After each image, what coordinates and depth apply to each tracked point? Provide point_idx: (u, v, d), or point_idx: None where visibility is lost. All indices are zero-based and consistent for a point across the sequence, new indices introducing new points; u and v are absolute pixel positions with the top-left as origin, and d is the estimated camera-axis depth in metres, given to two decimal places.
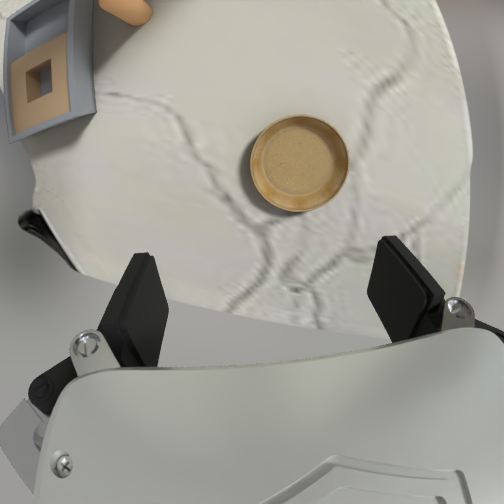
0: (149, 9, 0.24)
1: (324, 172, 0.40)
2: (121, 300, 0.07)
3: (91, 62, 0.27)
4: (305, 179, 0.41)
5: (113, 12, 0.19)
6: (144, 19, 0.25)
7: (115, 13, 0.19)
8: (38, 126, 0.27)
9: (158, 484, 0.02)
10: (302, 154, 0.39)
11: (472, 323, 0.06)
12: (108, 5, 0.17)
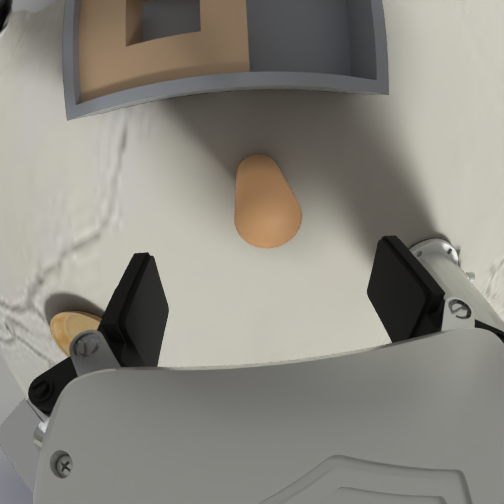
0: None
1: None
2: (121, 300, 0.07)
3: (183, 95, 0.20)
4: None
5: (235, 203, 0.17)
6: None
7: (235, 200, 0.18)
8: (69, 32, 0.11)
9: (158, 484, 0.02)
10: None
11: (472, 323, 0.06)
12: (247, 209, 0.16)
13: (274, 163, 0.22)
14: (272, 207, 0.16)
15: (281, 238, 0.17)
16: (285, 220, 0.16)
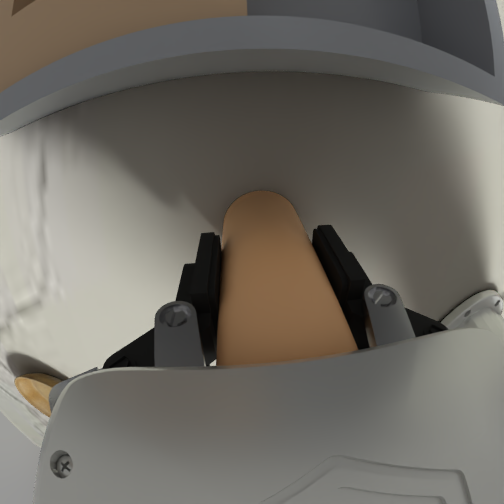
0: None
1: None
2: (205, 272, 0.09)
3: (123, 88, 0.10)
4: None
5: (217, 354, 0.07)
6: None
7: (218, 340, 0.07)
8: None
9: (158, 484, 0.02)
10: None
11: (401, 307, 0.07)
12: None
13: (293, 214, 0.12)
14: None
15: None
16: None
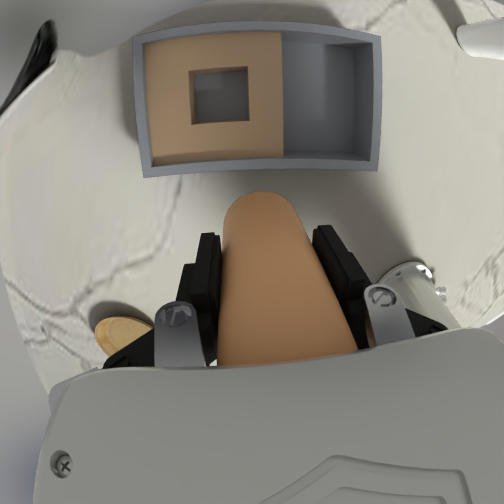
0: None
1: None
2: (205, 272, 0.09)
3: None
4: (122, 341, 0.46)
5: (218, 356, 0.07)
6: None
7: (218, 341, 0.08)
8: (141, 103, 0.21)
9: (158, 484, 0.02)
10: None
11: (401, 307, 0.07)
12: None
13: (293, 215, 0.12)
14: None
15: None
16: None
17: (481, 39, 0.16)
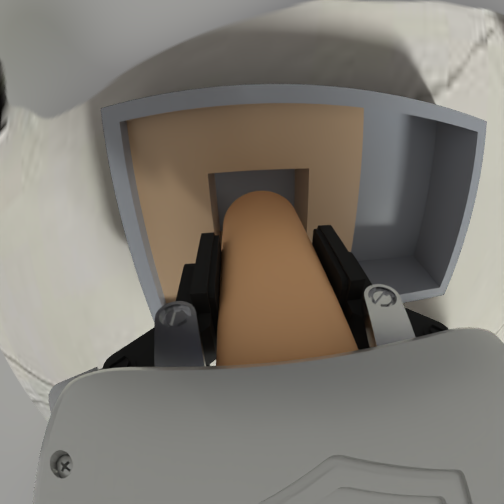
0: None
1: None
2: (205, 272, 0.09)
3: None
4: None
5: (217, 355, 0.07)
6: None
7: (217, 341, 0.07)
8: (135, 232, 0.15)
9: (158, 484, 0.02)
10: None
11: (401, 307, 0.07)
12: None
13: (293, 214, 0.12)
14: None
15: None
16: None
17: None
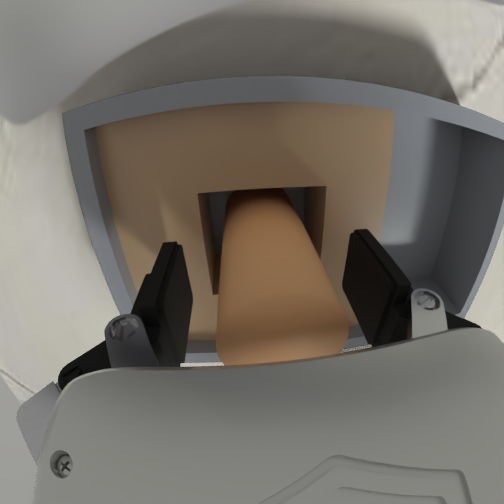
0: None
1: None
2: (157, 285, 0.08)
3: None
4: None
5: (218, 304, 0.09)
6: None
7: (219, 294, 0.09)
8: (111, 266, 0.12)
9: (158, 484, 0.02)
10: None
11: (443, 313, 0.07)
12: (241, 334, 0.07)
13: (286, 198, 0.14)
14: (293, 329, 0.07)
15: None
16: (316, 345, 0.08)
17: None
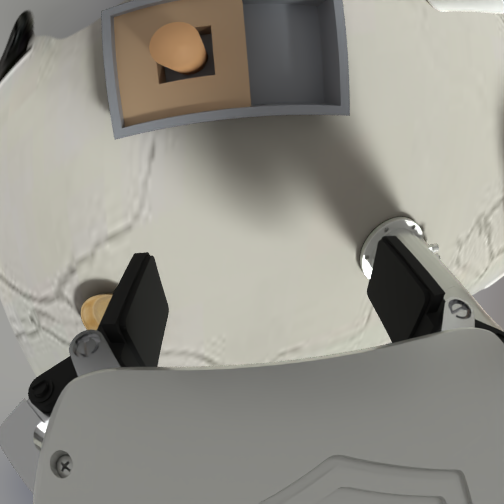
0: (188, 73, 0.24)
1: None
2: (121, 300, 0.07)
3: None
4: None
5: None
6: None
7: None
8: (110, 69, 0.19)
9: (158, 484, 0.02)
10: None
11: (472, 323, 0.06)
12: (158, 39, 0.15)
13: None
14: (176, 35, 0.15)
15: (185, 56, 0.16)
16: (187, 43, 0.16)
17: None
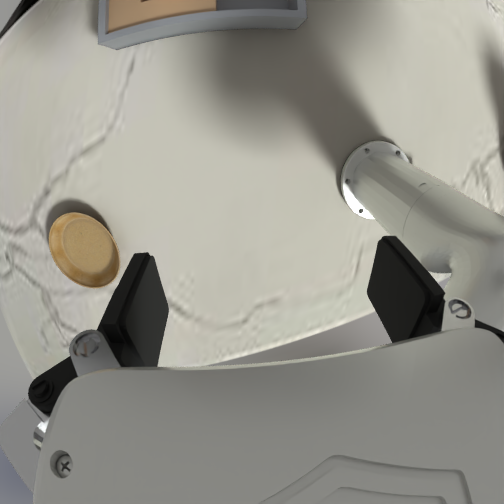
0: None
1: (87, 267, 0.43)
2: (121, 300, 0.07)
3: (175, 35, 0.25)
4: (76, 253, 0.42)
5: None
6: None
7: None
8: None
9: (158, 484, 0.02)
10: (93, 248, 0.41)
11: (472, 323, 0.06)
12: None
13: None
14: None
15: None
16: None
17: None
